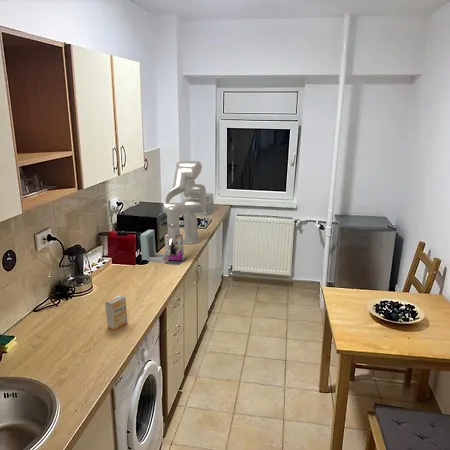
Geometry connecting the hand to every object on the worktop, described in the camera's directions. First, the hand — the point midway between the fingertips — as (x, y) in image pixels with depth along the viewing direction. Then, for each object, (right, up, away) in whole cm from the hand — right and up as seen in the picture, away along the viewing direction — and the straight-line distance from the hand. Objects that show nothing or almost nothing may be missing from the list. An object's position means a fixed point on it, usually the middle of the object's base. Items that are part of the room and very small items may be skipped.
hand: (175, 252), depth 263 cm
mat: (0, -6, +1) cm, 6 cm away
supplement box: (-17, -28, -76) cm, 83 cm away
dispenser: (-12, -5, +5) cm, 14 cm away
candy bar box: (0, -5, +1) cm, 5 cm away
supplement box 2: (+11, +29, +121) cm, 125 cm away
